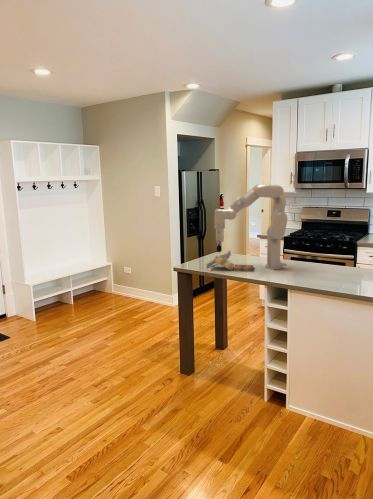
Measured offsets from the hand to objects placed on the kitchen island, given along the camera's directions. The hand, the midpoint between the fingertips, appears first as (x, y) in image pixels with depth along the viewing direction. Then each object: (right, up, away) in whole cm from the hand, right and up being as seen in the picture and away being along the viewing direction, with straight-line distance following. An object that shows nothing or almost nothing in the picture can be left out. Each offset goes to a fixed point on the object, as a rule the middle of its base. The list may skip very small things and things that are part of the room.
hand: (219, 251), depth 276 cm
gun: (+1, -11, +19) cm, 22 cm away
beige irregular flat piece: (+3, -9, +1) cm, 10 cm away
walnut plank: (+18, -13, -1) cm, 22 cm away
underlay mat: (+10, -13, +1) cm, 17 cm away
